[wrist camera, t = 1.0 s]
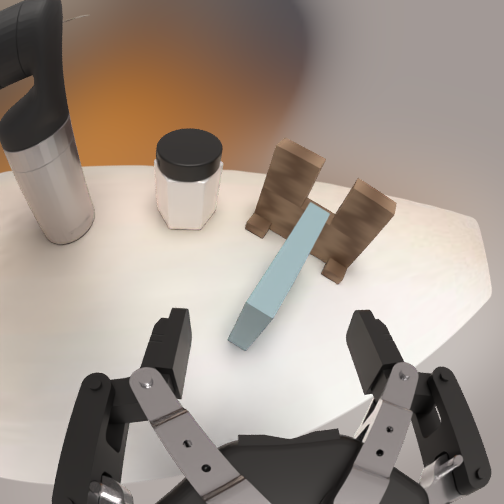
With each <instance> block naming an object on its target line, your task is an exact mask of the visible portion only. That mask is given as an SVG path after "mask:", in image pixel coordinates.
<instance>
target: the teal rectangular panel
mask: <svg viewBox="0 0 504 504" xmlns="http://www.w3.org/2000/svg"><path fill="white" fill-rule="evenodd" d="M329 215H330V213H328V212H327V211H325V210H323V209H322V208H320V207H318V206H317V205H315V204H313V203H311V202H310V204H309V205H308V207H307V208H306V210H305V212H304V213H303V215H302V216H301V218H300V219H299V221H298V223H297V224H296V226H295V227H294V229H293V230H292V232H291V234H290V235H289V237H288V238H287V240H286V241H285V243H284V245H283V246H282V248H281V249H280V251H279V252H278V254H277V255H276V257H275V259H274V260H273V262H272V263H271V265H270V266H269V268H268V269H267V271H266V272H265V274H264V276H263V277H262V279H261V280H260V282H259V283H258V285H257V286H256V288H255V289H254V291H253V292H252V294H251V295H250V297H249V298H248V300H247V301H246V303H245V305H244V307H243V309H242V311H241V313H240V316H239V318H238V320H237V322H236V324H235V326H234V328H233V330H232V332H231V334H230V336H229V338H228V341H230V342H232V343H233V344H235V345H236V346H238V347H240V348H241V349H243V350H245V351H246V350H247V349H248V348H249V346H250V345H251V344H252V343H253V342H254V341H255V339H256V338H257V337H258V336H259V335H260V334H261V332H262V331H263V330H264V329H265V328H266V326H267V325H268V324H269V323H270V322H271V320H272V319H273V318H274V316H275V314H276V313H277V311H278V309H279V307H280V306H281V304H282V302H283V300H284V299H285V297H286V295H287V293H288V292H289V290H290V288H291V286H292V285H293V283H294V281H295V279H296V277H297V275H298V274H299V272H300V270H301V268H302V266H303V265H304V263H305V261H306V259H307V257H308V255H309V253H310V251H311V250H312V248H313V246H314V244H315V242H316V240H317V238H318V236H319V234H320V232H321V231H322V229H323V227H324V225H325V223H326V221H327V219H328V217H329Z"/></svg>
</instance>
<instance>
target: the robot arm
mask: <svg viewBox="0 0 504 504" xmlns="http://www.w3.org/2000/svg"><path fill="white" fill-rule="evenodd" d="M62 19H63V16H62V4H61V0H24V1H22V2H20V3H17V4H15V5H13V6H11V7H9V8H6V9H4V10H2V11H0V89H2V88H4V87H6V86H8V85H10V84H13V83H15V82H17V81H19V80H22V79H24V78H26V77H29V76H31V75H33V77H34V86H33V87H32V88H31V89H30V90H29V92H28V93H27V94H26V95H25V96H24V97H23V98H21V99H20V100H19V101H18V102H17V103H16V104H15V105H14V106H12V107H11V108H10V109H9V110H8V111H7V112H6V114H5V115H4V116H3V118H2V119H1V121H0V142H1V144H2V147H3V149H4V152H5V155H6V157H7V159H8V162H9V164H10V167H11V169H12V171H13V174H14V176H15V178H16V180H17V182H18V185H19V187H20V189H21V191H22V193H23V195H24V197H25V199H26V201H27V203H28V205H29V207H30V209H31V211H32V212H33V214H34V216H35V218H36V220H37V222H38V224H39V225H40V227H41V229H42V231H43V232H44V234H45V236H46V237H47V238H48V239H49V241H51V242H53V243H56V244H67V243H70V242H73V241H75V240H77V239H78V238H80V237H81V236H82V235H84V234H85V233H86V232H87V230H88V229H89V228H90V226H91V225H92V222H93V220H94V215H95V212H94V207H93V204H92V201H91V198H90V195H89V191H88V188H87V184H86V181H85V177H84V174H83V170H82V167H81V163H80V159H79V155H78V151H77V147H76V143H75V138H74V134H73V130H72V125H71V120H70V115H69V110H68V105H67V99H66V93H65V85H64V78H63V66H62ZM191 341H192V332H191V325H190V317H189V310H188V309H184V308H172V310H171V313H170V316H169V318H161V319H160V320H159V321H158V322H157V323H156V324H155V325H154V328H153V331H152V335H151V337H150V340H149V343H148V346H147V349H146V352H145V355H144V358H143V361H142V364H141V367H140V369H138V370H136V371H135V372H134V373H133V374H132V375H131V376H130V377H128V378H123V379H114V380H110V379H109V378H108V376H106V375H105V374H103V373H92V374H90V375H88V376H87V377H86V378H85V379H84V380H83V382H82V384H81V387H80V390H79V393H78V396H77V399H76V402H75V405H74V408H73V412H72V415H71V418H70V422H69V425H68V428H67V432H66V436H65V439H64V443H63V447H62V451H61V455H60V460H59V464H58V469H57V474H56V479H55V484H54V490H53V496H52V504H134V503H133V497H132V494H131V492H130V491H129V490H128V489H127V488H126V487H125V486H123V485H121V475H122V467H123V460H124V453H125V447H126V440H127V434H128V429H129V423H132V422H141V421H148V420H149V422H150V424H151V425H152V427H153V429H154V430H155V432H156V434H157V435H158V437H159V438H160V440H161V442H162V443H163V445H164V446H165V448H166V449H167V451H168V452H169V454H170V455H171V457H172V458H173V460H174V461H175V463H176V464H177V466H178V467H179V468H180V470H181V471H182V473H183V474H184V475H185V478H184V479H183V480H182V481H181V482H180V483H179V484H178V485H177V486H175V487H174V488H173V489H172V490H171V491H170V492H169V493H167V494H166V495H165V496H164V497H163V498H162V499H161V500H159V501H158V502H157V503H156V504H450V503H452V502H454V501H457V500H459V499H461V498H463V497H465V496H467V495H469V494H471V493H473V492H475V491H477V490H479V489H481V488H482V487H484V486H485V485H486V484H487V483H488V481H489V480H490V477H491V468H490V464H489V461H488V457H487V454H486V451H485V448H484V445H483V443H482V439H481V437H480V434H479V431H478V429H477V426H476V423H475V421H474V418H473V416H472V413H471V411H470V409H469V406H468V404H467V402H466V399H465V397H464V395H463V393H462V390H461V388H460V386H459V384H458V382H457V380H456V378H455V376H454V374H453V372H452V371H451V370H449V369H448V368H446V367H438V368H436V369H435V370H434V371H433V372H432V374H430V373H420V372H417V370H416V368H415V367H414V366H413V365H411V364H409V363H406V362H404V361H403V359H402V357H401V354H400V352H399V350H398V348H397V346H396V344H395V343H394V341H393V339H392V337H391V335H390V333H389V331H388V329H387V327H386V325H384V324H383V323H382V322H381V321H380V320H379V319H375V318H374V316H373V314H372V312H371V311H370V310H356V311H355V312H354V313H353V316H352V319H351V322H350V325H349V328H348V331H347V334H346V342H347V345H348V348H349V351H350V354H351V357H352V360H353V362H354V365H355V368H356V371H357V374H358V377H359V380H360V383H361V386H362V389H363V392H364V395H367V394H373V396H374V398H373V400H372V401H371V403H370V406H369V408H368V410H367V412H366V414H365V416H364V418H363V420H362V422H361V424H360V426H359V428H358V430H357V432H356V433H355V435H354V436H353V438H352V437H349V436H346V435H340V434H339V430H338V429H331V430H324V431H315V432H312V433H309V434H306V435H303V436H300V437H297V438H293V439H285V438H279V437H273V436H268V435H238V441H233V442H230V443H227V444H225V445H222V446H220V447H219V448H217V447H216V446H215V445H214V444H213V443H212V441H211V440H210V439H209V438H208V436H207V435H206V434H205V433H204V431H203V430H202V429H201V427H200V426H199V425H198V423H197V422H196V421H195V419H194V418H193V417H192V415H191V414H190V413H189V412H188V410H187V409H184V408H183V407H182V406H181V404H180V403H179V401H178V400H177V399H182V393H183V387H184V381H185V375H186V370H187V364H188V358H189V353H190V347H191ZM436 406H437V409H438V411H439V414H440V417H441V422H440V419H439V416H438V413H437V411H436V408H435V407H436ZM410 421H412V424H413V428H414V431H415V434H416V438H417V441H418V445H419V448H420V452H421V456H422V460H423V464H424V470H423V471H422V474H421V479H420V480H419V484H418V483H417V482H415V481H414V480H412V479H411V478H409V477H408V476H407V475H405V474H404V473H402V472H401V471H399V470H398V469H397V468H395V467H394V464H395V462H396V460H397V457H398V455H399V452H400V450H401V447H402V444H403V441H404V439H405V436H406V433H407V430H408V427H409V424H410Z"/></svg>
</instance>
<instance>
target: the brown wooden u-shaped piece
mask: <svg viewBox="0 0 504 504" xmlns="http://www.w3.org/2000/svg"><path fill="white" fill-rule="evenodd" d="M325 160H326V159H325V158H323V157H321V156H319V155H317V154H316V153H314V152H312V151H310V150H308V149H306V148H304V147H302V146H300V145H299V144H296V143H295V142H293V141H291V140H289V139H287V138H284V139H283V140H282V141H281V142H280V143H279V144H278V145H276V149H275V151H274V154H273V158H272V161H271V164H270V167H269V170H268V173H267V176H266V179H265V182H264V185H263V188H262V191H261V194H260V197H259V200H258V203H257V206H256V210H255V213H254V214H253V215H252V216H251V218H250V219H249V220H248V221H247V223H246V227H245V229H247V230H249V231H250V232H252V233H254V234H255V235H257V236H259V237H261V238H263V237H264V236H265V234H266V233H267V231H268V230H269V229H270V230H272V231H274V232H275V233H277V234H279V235H280V236H282V237H284V238H285V239H287V238H288V237H289V235H290V234H291V232H292V230H293V229H294V227H295V226H296V224H297V223H298V221H299V219H300V218H301V216H302V215H303V213H304V212H305V210H306V208H307V207H308V205H309V204H310V202H311V203H313V204H315V205H317V206H318V207H320V208H322V209H323V210H325V211H327V212H328V213H330V215H329V217H328V219H327V221H326V223H325V225H324V227H323V229H322V231H321V232H320V234H319V236H318V238H317V240H316V242H315V244H314V246H313V248H312V250H311V251H310V254H312V255H314V256H315V257H317V258H319V259H320V260H322V261H324V262H325V263H326V264H325V266H324V269H323V271H322V273H321V274H322V275H324V276H325V277H327V278H329V279H330V280H332V281H334V282H335V283H337V284H339V283H340V282H341V281H342V280H343V278H344V275H345V272H346V270H347V268H348V267H349V266H350V265H351V264H352V263H353V261H354V260H355V259H356V258H357V257H358V256H359V255H360V254H361V253H362V252H363V250H364V249H365V248H366V247H367V246H368V245H369V244H370V243H371V241H372V240H373V239H374V238H375V237H376V236H377V235H378V233H379V232H380V231H381V230H382V229H383V228H384V227H385V225H386V224H387V223H388V222H389V221H390V219H391V218H392V217H393V216H394V214H395V209H396V202H394V201H393V200H391V199H390V198H388V197H387V196H385V195H384V194H382V193H381V192H379V191H378V190H376V189H375V188H373V187H371V186H370V185H368V184H367V183H365V182H364V181H362V180H360V179H359V178H358V179H357V181H356V182H355V184H354V186H353V187H352V189H351V190H350V192H349V193H348V195H347V196H346V198H345V200H344V201H343V203H342V204H341V206H340V207H339V209H338V211H337V212H336V214H334V213H332V212H331V211H329V210H327V209H326V208H324V207H322V206H321V205H319V204H317V203H316V202H314V201H312V200H310V199H309V198H307V197H308V195H309V193H310V191H311V189H312V187H313V185H314V183H315V181H316V179H317V177H318V175H319V172H320V171H321V169H322V166H323V165H324V163H325Z"/></svg>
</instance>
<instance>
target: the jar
mask: <svg viewBox="0 0 504 504" xmlns="http://www.w3.org/2000/svg"><path fill="white" fill-rule="evenodd" d="M221 155H222V144H221V142H220V140H219V139H218V138H217V137H215V136H214V135H213V134H211V133H209V132H207V131H203V130H199V129H180V130H175V131H172V132H170V133H168V134H166V135H165V136H163V137H162V138H161V139H160V140H159V142H158V144H157V150H156V160H155V161H154V170H155V186H156V199H157V208H158V210H159V212H160V213H161V215H162V217H163V219H164V220H165V222H166V224H167V225H168V227H169V228H170V229H193V230H200V229H202V227H203V226H204V225H205V223H206V222H207V221H208V219H209V218H210V217H211V215H212V214H213V213H214V212H215V210H216V205H217V199H218V192H219V186H220V180H221V174H222V169H223V163H222V162H221Z"/></svg>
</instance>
